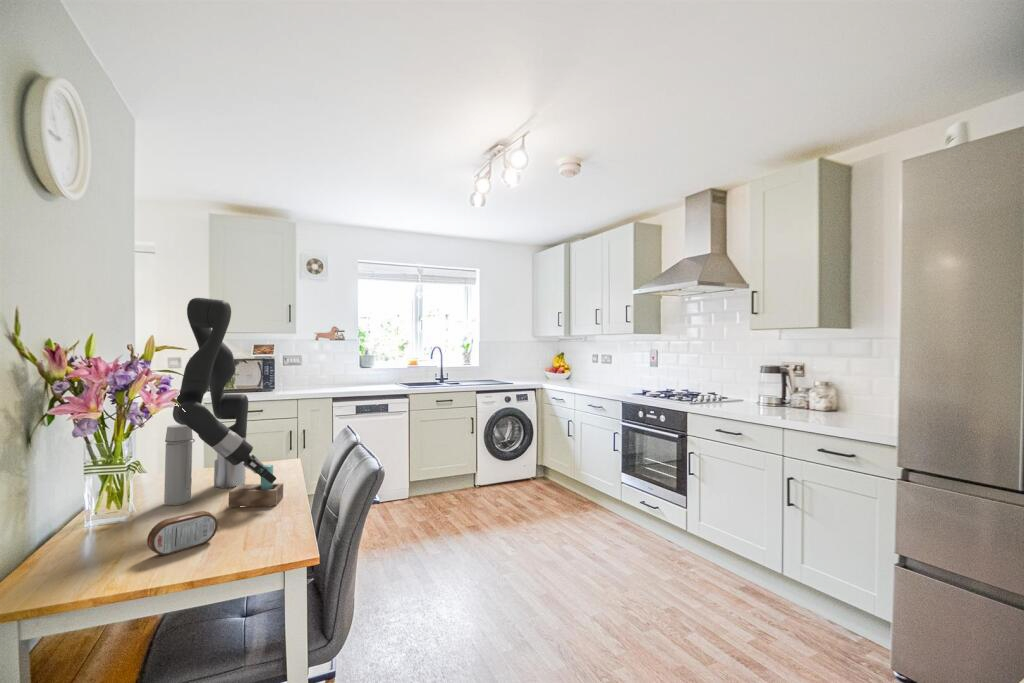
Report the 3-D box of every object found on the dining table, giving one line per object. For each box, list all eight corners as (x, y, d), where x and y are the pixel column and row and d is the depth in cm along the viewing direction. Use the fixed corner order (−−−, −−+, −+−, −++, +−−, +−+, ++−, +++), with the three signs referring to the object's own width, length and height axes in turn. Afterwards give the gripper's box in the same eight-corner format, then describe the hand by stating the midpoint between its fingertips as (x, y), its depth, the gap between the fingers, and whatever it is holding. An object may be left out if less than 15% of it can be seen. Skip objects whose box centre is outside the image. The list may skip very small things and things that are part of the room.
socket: (228, 507, 151) (228, 492, 151) (238, 499, 158) (238, 484, 159) (276, 505, 153) (276, 490, 153) (283, 498, 161) (283, 483, 161)
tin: (213, 538, 127) (214, 506, 127) (219, 541, 126) (219, 509, 126) (146, 557, 115) (146, 522, 115) (150, 561, 113) (151, 525, 113)
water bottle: (157, 505, 152) (159, 426, 152) (181, 497, 159) (183, 423, 160) (177, 508, 149) (180, 428, 149) (201, 501, 157) (203, 425, 157)
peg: (258, 504, 154) (259, 467, 154) (262, 501, 158) (263, 464, 158) (270, 504, 155) (271, 467, 155) (273, 500, 158) (274, 464, 159)
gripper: (246, 441, 146) (285, 473, 153) (238, 434, 157) (275, 464, 165) (225, 461, 143) (267, 492, 150) (218, 452, 154) (257, 482, 161)
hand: (271, 477), depth 157 cm, fingers open, 8 cm apart
